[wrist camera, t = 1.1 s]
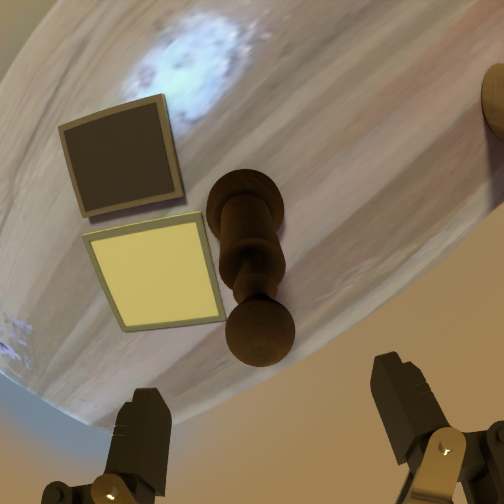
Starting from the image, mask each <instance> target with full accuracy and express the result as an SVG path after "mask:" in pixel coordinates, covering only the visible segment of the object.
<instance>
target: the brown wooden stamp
mask: <svg viewBox="0 0 504 504" xmlns="http://www.w3.org/2000/svg"><path fill="white" fill-rule="evenodd" d="M206 217H207V222H208V225H209V228H210V230H211V231H212V233H213V234H214V235H215V237H216V238H217V239H219V240H220V256H219V273H220V276H221V279H222V280H223V282H224V283H225V284H226V285H227V287H229V288H230V289H231V290H233V296H234V299H235V300H236V302H237V303H238V304H239V305H237V306H236V307H235V308H234V310H233V311H232V312H231V314H230V315H229V317H228V319H227V322H226V328H225V335H226V341H227V344H228V347H229V349H230V350H231V352H232V353H233V355H234V356H235V357H236V358H237V359H239V360H240V361H242V362H243V363H245V364H247V365H250V366H255V367H265V366H270V365H273V364H276V363H277V362H279V361H281V360H282V359H283V358H284V357H285V356H286V355H287V354H288V352H289V351H290V349H291V347H292V345H293V342H294V338H295V325H294V321H293V318H292V316H291V314H290V313H289V311H288V310H287V309H286V308H285V307H284V306H283V305H282V304H280V303H279V302H277V301H276V300H274V299H275V297H276V295H277V286H278V285H279V283H280V282H281V281H282V279H283V277H284V274H285V269H286V263H285V258H284V255H283V252H282V249H281V246H280V243H279V240H278V237H277V234H276V232H277V231H278V229H279V227H280V226H281V223H282V221H283V217H284V203H283V199H282V197H281V194H280V192H279V190H278V188H277V186H276V184H275V183H274V182H273V181H272V180H271V179H270V178H269V177H268V176H267V175H265V174H263V173H261V172H259V171H256V170H251V169H240V170H235V171H232V172H229V173H227V174H225V175H224V176H222V177H221V178H220V179H219V180H218V181H217V182H216V183H215V184H214V186H213V187H212V189H211V191H210V193H209V196H208V201H207V208H206Z"/></svg>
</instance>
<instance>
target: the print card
mask: <svg viewBox="0 0 504 504" xmlns="http://www.w3.org/2000/svg"><path fill="white" fill-rule="evenodd" d="M82 238H83V241H84V244H85V246H86V249H87V252H88V254H89V257H90V259H91V262H92V264H93V267H94V269H95V272H96V274H97V277H98V279H99V282H100V284H101V286H102V289H103V291H104V293H105V295H106V298H107V300H108V302H109V304H110V307H111V309H112V311H113V313H114V315H115V317H116V320H117V322H118V324H119V326H120V328H121V330H122V332H126V331H137V330H147V329H157V328H166V327H175V326H184V325H192V324H200V323H208V322H216V321H223V320H226V315H225V311H224V307H223V303H222V299H221V295H220V291H219V287H218V283H217V279H216V275H215V270H214V266H213V262H212V258H211V253H210V249H209V245H208V240H207V236H206V232H205V227H204V223H203V218H202V214H201V211H197V212H191V213H186V214H180V215H175V216H170V217H164V218H159V219H154V220H149V221H144V222H139V223H134V224H129V225H124V226H119V227H114V228H110V229H105V230H100V231H96V232H91V233H87V234H84V235H83V236H82Z"/></svg>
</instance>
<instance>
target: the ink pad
mask: <svg viewBox="0 0 504 504" xmlns="http://www.w3.org/2000/svg"><path fill="white" fill-rule="evenodd" d="M58 130H59V135H60V139H61V143H62V147H63V151H64V155H65V159H66V163H67V167H68V171H69V174H70V178H71V181H72V185H73V188H74V192H75V195H76V198H77V201H78V205H79V208H80V211H81V214H82V217H83V218H86V217H90V216H95V215H99V214H103V213H107V212H112V211H116V210H121V209H125V208H130V207H134V206H139V205H143V204H148V203H153V202H158V201H163V200H168V199H173V198H178V197H183V195H184V189H183V184H182V180H181V175H180V171H179V166H178V161H177V157H176V152H175V147H174V142H173V137H172V132H171V127H170V122H169V117H168V112H167V107H166V101H165V96H164V94H158V95H154V96H150V97H146V98H142V99H139V100H135V101H132V102H128V103H125V104H121V105H118V106H115V107H112V108H108V109H105V110H102V111H99V112H96V113H93V114H90V115H88V116H85V117H82V118H79V119H77V120H74V121H71V122H69V123H66V124H63V125H61V126H58Z"/></svg>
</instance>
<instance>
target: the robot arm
mask: <svg viewBox="0 0 504 504" xmlns="http://www.w3.org/2000/svg"><path fill="white" fill-rule="evenodd" d="M482 103H483V109H484V114H485V117H486V120H487V122H488V124H489V126H490V128H491V130H492V131H493V132H494V133H495V135H497V136H498V137H499V138H501V139H503V140H504V64H496V65H494V66H492V67H491V68H490V69H489V70H488V72H487V74H486V75H485V78H484V81H483V87H482ZM370 385H371V392H372V396H373V398H374V401H375V404H376V406H377V409H378V411H379V414H380V417H381V419H382V422H383V424H384V427H385V430H386V432H387V435H388V438H389V441H390V443H391V446H392V449H393V452H394V454H395V457H396V460H397V463H398V465H401V464H403V463H406V462H407V463H408V466H409V471H408V474H407V476H406V479H405V481H404V484H403V486H402V488H401V491H400V493H399V495H398V497H397V500H396V502H395V504H454V503H453V501H452V496H453V492H454V489H455V486H456V483H457V482H461V484H462V486H463V490H464V493H465V496H466V499H467V502H468V504H504V421H498V422H495V423H494V424H493V425H491V427H490V428H489V429H488V430H485V431H478V432H470V433H464V432H460V431H459V430H457V429H455V428H453V427H451V426H450V425H449V423H448V421H447V420H446V418H445V416H444V414H443V412H442V410H441V408H440V406H439V404H438V402H437V400H436V398H435V397H434V394H433V392H431V389H430V387H429V385H428V383H426V379H425V378H424V376H423V374H422V372H421V370H420V369H419V368H417V367H416V366H415V365H413V363H411V362H410V361H409V362H406V363H402V361H401V359H400V358H399V356H398V354H397V353H396V352H394V351H393V352H390V353H386V354H382V355H378V356H376V357H375V359H374V364H373V370H372V376H371V381H370ZM115 425H116V427H115V428H114V432H113V436H112V440H111V445H110V450H109V454H108V459H107V463H106V468H105V471H104V473H103V475H101V476H99V477H97V478H96V479H95V480H94V482H93V483H92V484H88V485H82V486H75V487H69V486H68V485H66V484H65V483H63V482H60V481H55V482H52V483H50V484H49V485H47V486H46V488H45V490H44V492H43V496H42V501H41V504H154V502H155V496H164V497H165V486H166V474H167V464H168V453H169V444H170V435H171V426H172V418H171V413H170V410H169V408H168V407H167V405H166V403H165V402H164V400H163V398H162V396H161V395H160V393H159V391H158V390H157V388H137V389H136V390H135V391H134V395H133V399H132V402H125V404H124V405H123V406H122V408H121V409H120V411H119V412H118V415H117V419H116V423H115Z"/></svg>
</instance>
